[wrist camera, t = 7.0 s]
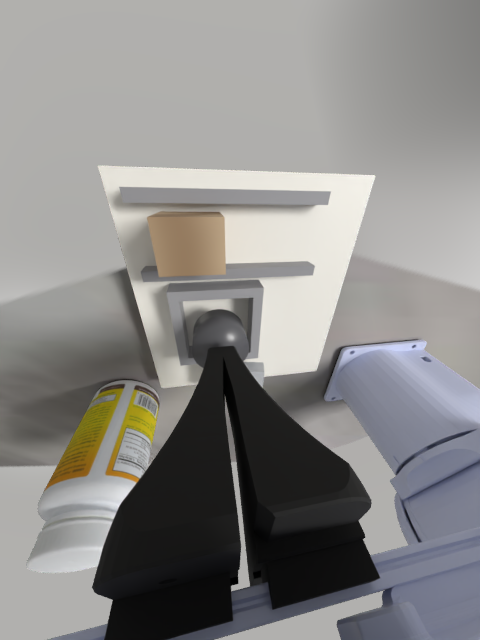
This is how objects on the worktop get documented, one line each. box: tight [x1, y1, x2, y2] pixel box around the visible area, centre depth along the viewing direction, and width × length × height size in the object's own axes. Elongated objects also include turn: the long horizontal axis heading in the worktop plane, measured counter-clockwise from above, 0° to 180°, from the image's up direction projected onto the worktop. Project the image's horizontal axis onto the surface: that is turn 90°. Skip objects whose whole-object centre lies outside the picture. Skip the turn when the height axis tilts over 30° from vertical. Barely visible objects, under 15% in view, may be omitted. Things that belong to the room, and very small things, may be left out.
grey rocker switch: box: [244, 362, 264, 388], centre depth 15 cm, size 4×2×1 cm, turn 89°
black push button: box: [192, 309, 249, 368], centre depth 12 cm, size 3×3×2 cm
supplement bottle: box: [26, 380, 160, 573], centre depth 15 cm, size 6×6×10 cm
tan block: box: [147, 211, 226, 277], centre depth 10 cm, size 3×2×3 cm
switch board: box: [98, 166, 375, 388], centre depth 14 cm, size 14×15×3 cm
